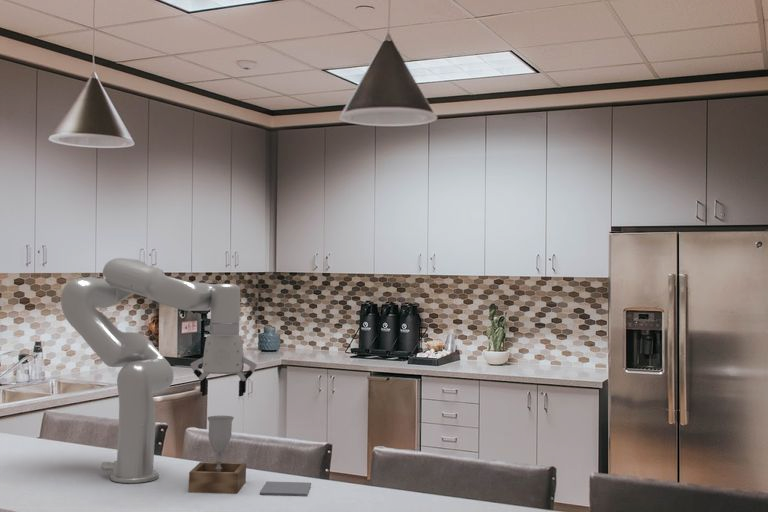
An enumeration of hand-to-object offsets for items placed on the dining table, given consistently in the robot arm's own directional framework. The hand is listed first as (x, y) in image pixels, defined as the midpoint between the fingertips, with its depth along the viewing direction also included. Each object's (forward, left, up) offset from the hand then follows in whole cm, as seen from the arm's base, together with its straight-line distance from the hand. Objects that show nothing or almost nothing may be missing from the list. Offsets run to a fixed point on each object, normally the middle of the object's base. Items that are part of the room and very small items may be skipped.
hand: (222, 395), depth 203 cm
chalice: (0, 0, -24) cm, 24 cm away
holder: (0, 0, -24) cm, 24 cm away
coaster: (+18, -1, -24) cm, 30 cm away
